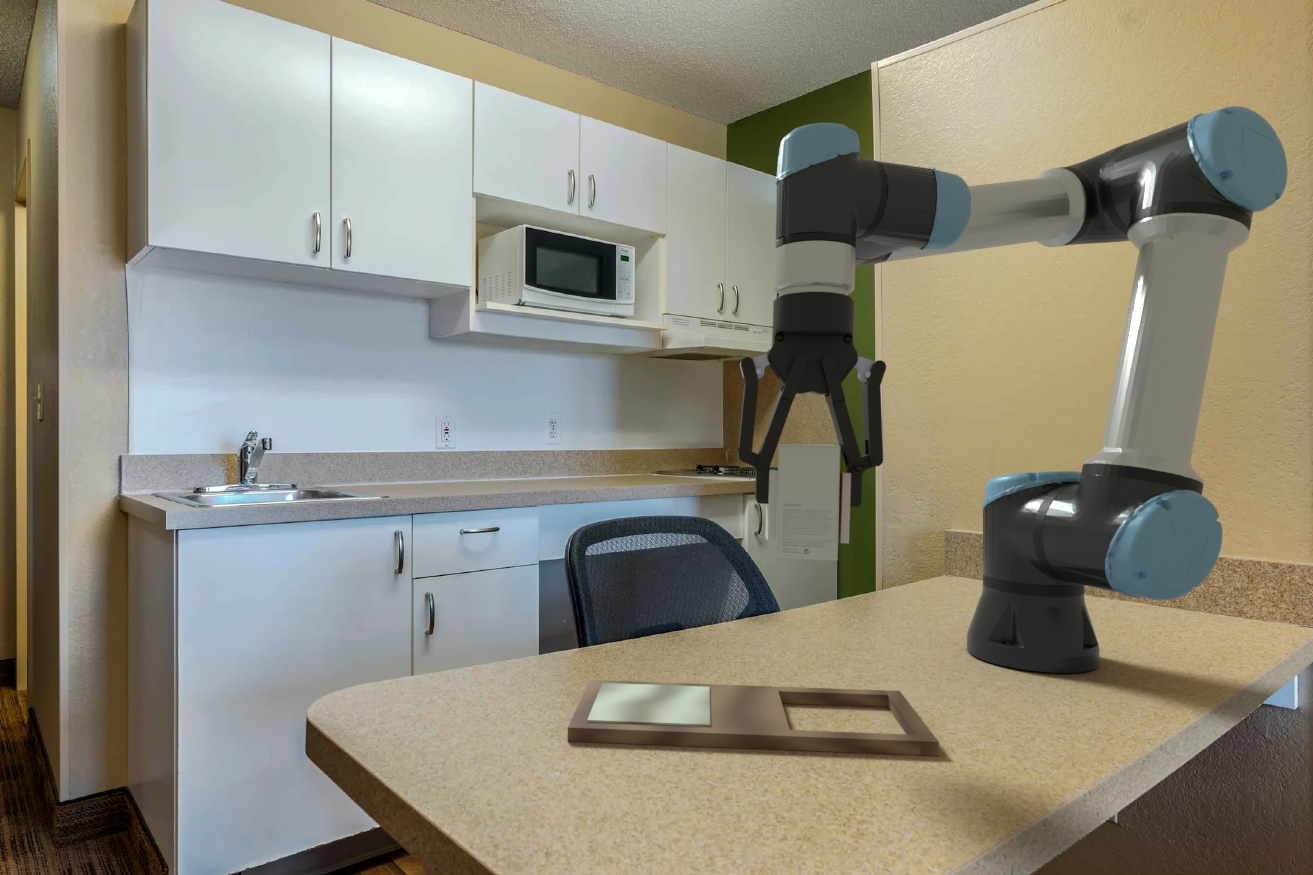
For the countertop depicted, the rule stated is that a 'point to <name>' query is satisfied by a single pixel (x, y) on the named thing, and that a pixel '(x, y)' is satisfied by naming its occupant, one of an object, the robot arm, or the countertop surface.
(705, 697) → the board
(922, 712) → the countertop surface
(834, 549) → the small box
